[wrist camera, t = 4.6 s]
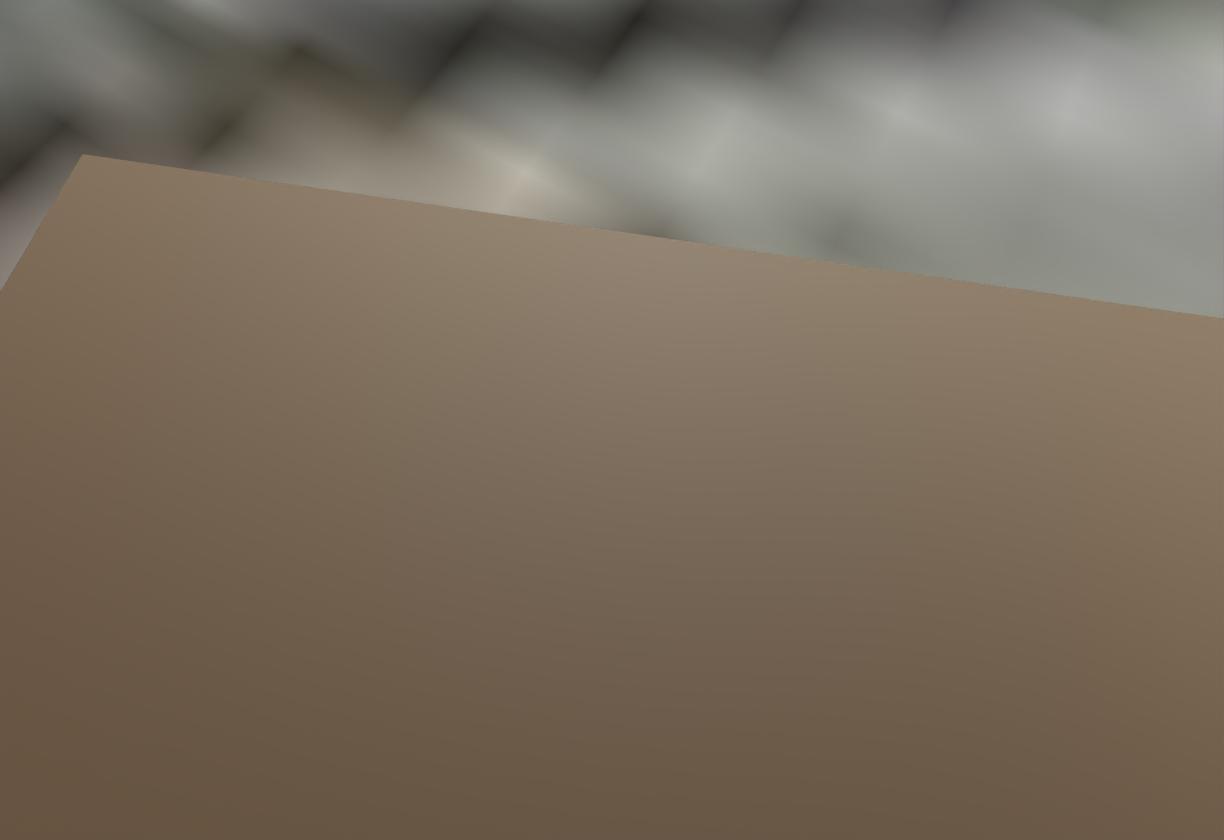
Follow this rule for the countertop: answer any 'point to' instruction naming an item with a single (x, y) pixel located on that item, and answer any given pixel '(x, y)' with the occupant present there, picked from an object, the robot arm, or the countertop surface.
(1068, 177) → the countertop surface
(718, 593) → the walnut block
